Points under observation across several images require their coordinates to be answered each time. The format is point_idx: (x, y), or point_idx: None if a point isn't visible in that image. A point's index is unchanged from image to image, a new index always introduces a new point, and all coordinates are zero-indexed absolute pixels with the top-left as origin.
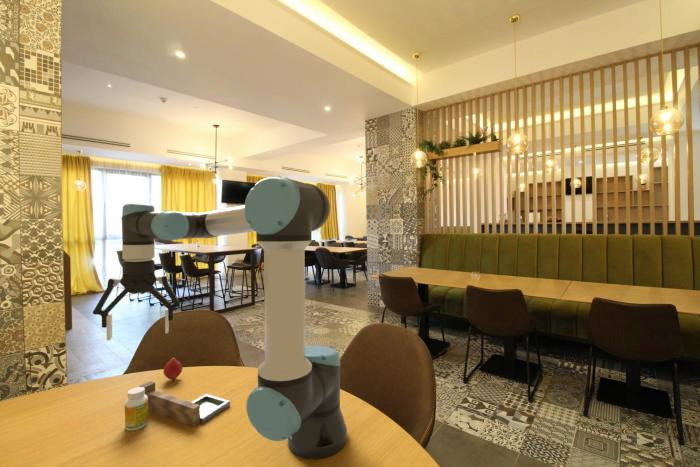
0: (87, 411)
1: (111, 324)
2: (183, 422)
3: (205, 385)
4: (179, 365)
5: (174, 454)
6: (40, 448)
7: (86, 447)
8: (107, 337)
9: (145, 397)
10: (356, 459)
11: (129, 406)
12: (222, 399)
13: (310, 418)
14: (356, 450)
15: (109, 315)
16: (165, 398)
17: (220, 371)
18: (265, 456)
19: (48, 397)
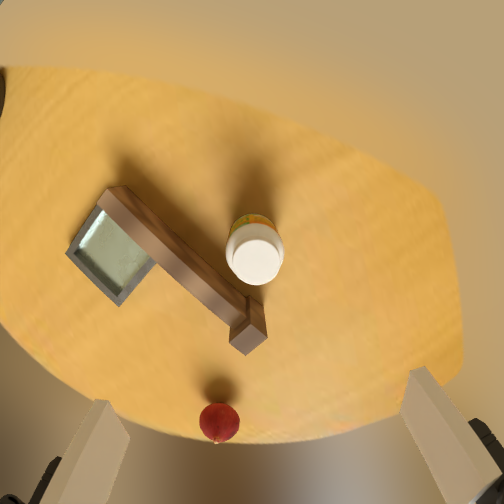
0: (366, 327)
1: (434, 458)
2: (148, 208)
3: (141, 360)
4: (202, 424)
5: (151, 98)
6: (408, 215)
7: (334, 182)
8: (429, 377)
9: (229, 250)
10: None
11: (266, 226)
12: (79, 266)
13: None
14: None
15: (481, 491)
16: (188, 270)
17: (129, 403)
18: (30, 76)
19: None
